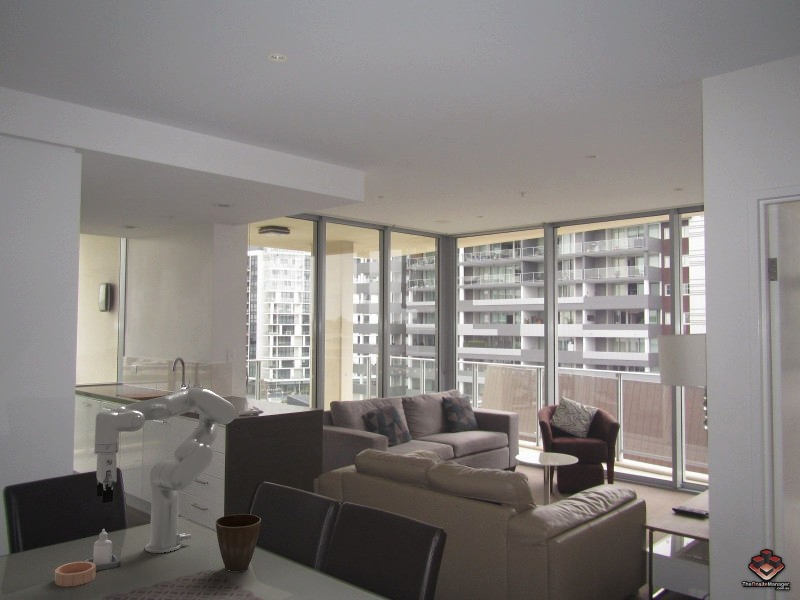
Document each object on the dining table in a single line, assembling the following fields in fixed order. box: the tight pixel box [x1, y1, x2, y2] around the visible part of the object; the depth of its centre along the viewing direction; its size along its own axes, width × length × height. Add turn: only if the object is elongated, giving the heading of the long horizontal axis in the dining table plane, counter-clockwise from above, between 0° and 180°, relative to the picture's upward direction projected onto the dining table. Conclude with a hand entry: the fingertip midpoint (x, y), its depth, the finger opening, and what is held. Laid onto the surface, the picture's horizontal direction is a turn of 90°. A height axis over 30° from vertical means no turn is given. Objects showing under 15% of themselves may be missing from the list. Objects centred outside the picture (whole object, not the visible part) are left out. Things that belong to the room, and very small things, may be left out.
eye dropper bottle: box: [92, 528, 113, 565], centre depth 215 cm, size 4×6×12 cm
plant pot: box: [215, 513, 262, 572], centre depth 215 cm, size 15×15×16 cm
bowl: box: [54, 560, 97, 587], centre depth 203 cm, size 11×11×4 cm
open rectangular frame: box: [83, 553, 121, 572], centre depth 215 cm, size 10×9×2 cm
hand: (104, 498), depth 216 cm, fingers open, 9 cm apart
